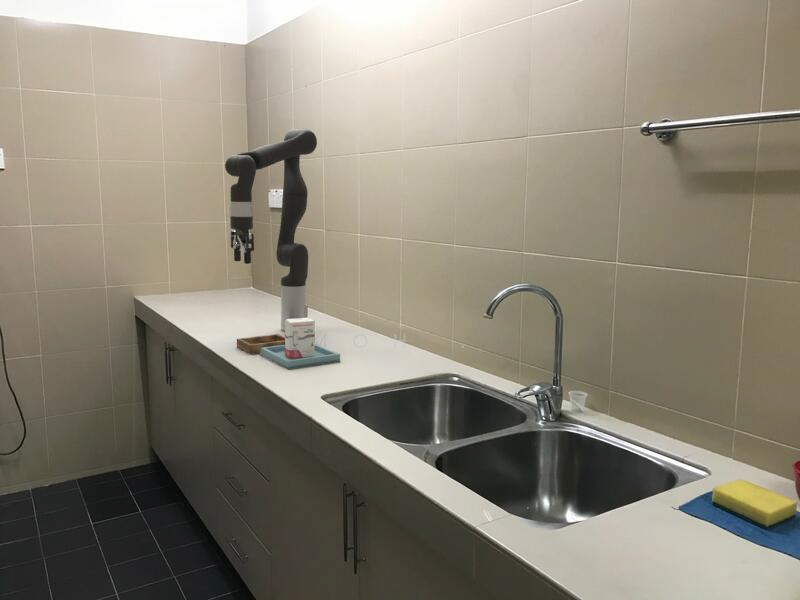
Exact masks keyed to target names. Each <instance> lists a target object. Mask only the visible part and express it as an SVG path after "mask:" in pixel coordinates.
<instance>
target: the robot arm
mask: <svg viewBox="0 0 800 600" xmlns="http://www.w3.org/2000/svg"><path fill="white" fill-rule="evenodd" d="M317 145H318V139H317V136H316V134H315V132H313V131H312V130H310V129H307V128H305V129H304V128H302V129H289V130H288V131H287V132H285V135H284V139H283V141H279V142H275V143H269V144H266V145H265V144H264V145H263V146H262V145H261V146H259V147H256V148H255V149H252V150H250V151H245V152H240V153H236V154H233V155H231V156H229V157H228V158H227V159H226V161H225V164H224V168H225V171H226V173H227V174H228V175H230V176H232V177H236V178H238V179H237V183H233V184H232V185H231V186H230V207H229V214H230V215H229V220H230V229H232V230H231V231H230V248H231V249H232V250H233V261H234V262H241V261H242V254H241V253H242V252H241V249H242V251H243V264H244V265H245V264H246V265H249V264H251V263H252V253H253V252H254V251H255V243H254V242H255V240H254V233H251V232H250V231H249V230H253V229H254V217H253V216H254V209H253V208H254V207H253V203H252V202H253V194H252V192H253V191H252V189H253V187H254V186H253V185H254V182H255V177H256V173H257V170H263V169H265V168H268V167H270V166H273V165H274V164H277V163H280V162H282V161H283V166H284V169H283V189H282V196H281V197H282V200H281V216H280V227H279V232H278V233H279V234H278V238H277V239H278V240H277V246H276V253H275V254H276V260H277V263H278V264H279V265H280V266H282V267H287V268H289V272H288V274H287V275H285V276H282V277H281V279H280V317H281V318H280V320H281V321H280V329H281V331H284V332H285V320H286V319H296V318H309V316H308V315H309V314H308V312H309V311H308V309H309V308H308V304H307V303H306V299H307V298H306V296H307V295H306V294H307V293H306V282H307V279H308V274H309V273H308V271H309V250H308V247H306V245H304V243H298V242H295V235H296V230H297V228H298V225H299V224H300V222H301V220H302V218H303V217H304V215H305V213H306V210H307V206H308V188H307V185H306V182H305V180H304V178H303V176H302V172H301V169H300V168H301V167H300V163H301V162H300V159H301V158H300V157H301V156H302V155H303V156H306V155H309V154H312V153H314V151H315V150H316V149H317Z"/></svg>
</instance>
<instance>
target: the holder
mask: <svg viewBox="0 0 800 600" xmlns="http://www.w3.org/2000/svg"><path fill="white" fill-rule="evenodd" d="M279 345H285V336H284V335H280V334H276V333H275V334H268V335H258V336H251V337H249V336H248V337H240V338H236V348H237V349H239V350H241V351H243V352H245V353H246V354H248V355H257V354H260V348H264V347H272V346H279Z"/></svg>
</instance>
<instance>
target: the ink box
mask: <svg viewBox="0 0 800 600" xmlns="http://www.w3.org/2000/svg"><path fill="white" fill-rule="evenodd" d="M315 322H316V321H315V320H314V319H312V318H310V317H308V318H296V319H286V320H285V331H284V337H285V356H286V357H288V358H290V359H292V358H301V357H311V356H315V344H316V342H315V341H316V340H315V339H316V338H315V336H316V334H315V333H316V323H315Z"/></svg>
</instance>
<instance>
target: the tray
mask: <svg viewBox="0 0 800 600" xmlns="http://www.w3.org/2000/svg"><path fill="white" fill-rule="evenodd" d="M259 355H260V356H261V357H264V358H265V359H267V360H268V361H269V360H270V361H271V362H272V363H275V364H276V365H278V366H281V367H283V368H284V369H287V370H293V369H300V368H306V367H307V368H308V367H313V366H320V365H327V364H332V363H339V362H341V353H338V352H336V351H333V350H331V349H329V348H326V347H325V346H321V345H319V344H317V343H315V356H311V357H301V358H292V359H290V358H288V357H286V356H285V345H279V346H272V347H264V348H260V353H259Z"/></svg>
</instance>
